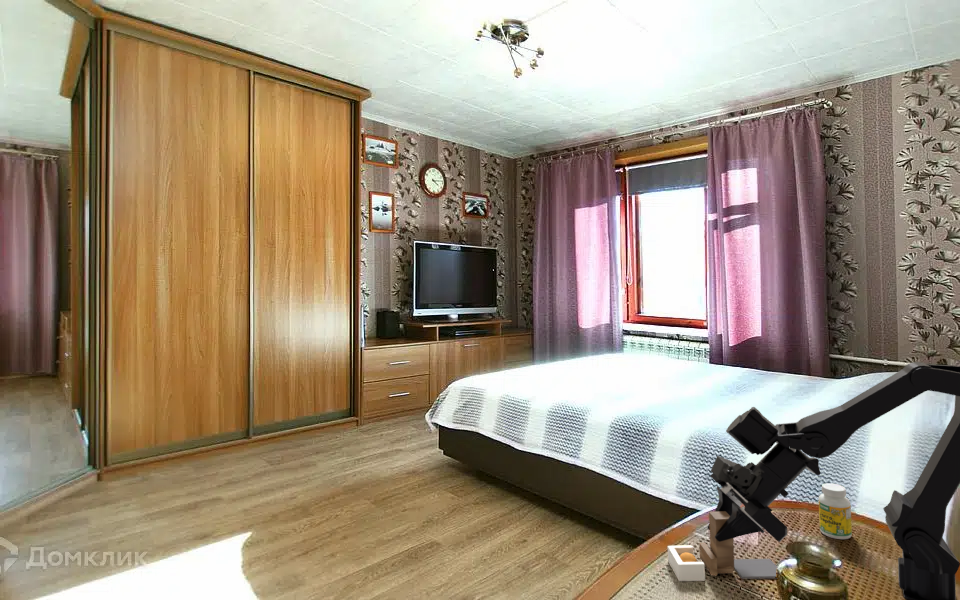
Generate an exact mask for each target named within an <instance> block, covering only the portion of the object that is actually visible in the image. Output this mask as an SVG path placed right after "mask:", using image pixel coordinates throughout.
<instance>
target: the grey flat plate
mask: <svg viewBox="0 0 960 600" xmlns="http://www.w3.org/2000/svg"><path fill="white" fill-rule="evenodd" d="M777 567H778V566H777V565H776V563H774V562H773V561H772V560H771V558H736V559H735V558H734V572H736V573H737V575H739V577H740V578H741V579H742V580H744V579H745V580H749V579H753V580H755V579H757V580H761V579H776V578H775V577H776V568H777Z"/></svg>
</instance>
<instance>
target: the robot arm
mask: <svg viewBox="0 0 960 600" xmlns="http://www.w3.org/2000/svg"><path fill="white" fill-rule="evenodd" d="M928 391H929V392H930V391H931V392H937V393H942V394H947V395H951V396H955V399H954V412H953V415H952V417H951V419H950V420H949V422H948V424H947V426H946V428H945V430H944V431H943V433H942V435H941V437H940V439H939V440H938V443H936V444H937V445H936V446H935V448H934V449H933V451H932V454H931V455H930V457H929V458H928V460H927V463H926V465H925V466H924V468H923V470H922V472H921V473H920V475H919V477H918V479H917V481H916V483H915V484H914V487H912V489H910V490H909V491H906V492H905V493H904V494H903V493H900V492H899V491H897V490H893V491H892V494H891V498H890V500H889V503H888V504H887V505H886V506H884V507H883V508H882V509H883V511H884V513H885V516H884V517H885V523H886V525H887V527H888V529H889V531H890V533H891V535H892V537H893V539H894V540H895V542H896V545H897V546H898V547H899V548H900V549H901V550H902V557H898V558H897V563H898V565H897V569H898V571H897V572H898V586H899V588H900V589H901V590H902V591H903V592H902V593H903V598H904V599H905V600H957V597H956V596H957V595H956V593H957V592H956V574H957V572H958V570H959V568H960V561H959V559H958V558H957V556H956V555H955V554H954V552H953V551H952V549H951V548H950V546H949V545H948V543H947V542H946V540H945V539H944V533H945V530H946V519H947V518H946V515H947V508H948V505H949V503H950V502H951V500H952V498H953V497H954V495H955V493H956V491H957V490H958V487H959V486H960V366H958V365H949V364H947V365H946V364H932V363H931V364H929V363H925V362H921V361H914V362H909V363H908V364H906V365H905V366H904V367H903V368H902V369H900V370H899V371H897V372H895V373H893V374H892V375H891V376H890V375H889V377H887V378H886V379H884V380H882V381H880V382H878V383H876V384H875V385H873V386H871V387H870V388H868V389H866V390H864V391H863V392H862V393H859V394H858V395H857V396H854V397H853V398H851V399H850V400H847V401H846V402H844V403H842V404H841V405H838V406H836V407H833V408H830V409H825V410H821V411H817V412H815V413H812V414H810V415H807V416H805V417H802V418H800V419H799V420H798V421H796V422H786V423H785V422H784V423H777V424H774V423H773V422H772V421H770V420H769V419H768V418H766V417H765V415H763V414H762V413H761V411H760V410H759V409H758V408H756V407H755V406H751V408H749V409H748V410H746V411H745V412H743V413H742V414H739V415H738V416H737V417H735V419H734V420H732V422H731V423H730V424H729V425H728V427H727V428H726V430H725V433H727V434H728V435H729V436H730V437H731V438H732V439H734V440H735V441H736V442H737V443H739V444H740V445H741V446H742V448H744V449H745V450H747V451H748V452H749V453H750V454H751V455H754V454H755V455H757V456H759V455H764V454H765V455H764V456H763V457H762V458H761V459H760V460H759V461H758V462H757V463H756V464H755V463H754V462H748V463H746V465H742V464H740V463H738V462H735V461H732V460H730V459H727V458H724V457H722V456H719V455H717V456H716V458H715V459H714V460H715V461H714V463H713V464H712V467H711V469H710V472H711V475H710V477H711V479H712V480H714V481H715V483H716V484H719V486H721V488H720V487H719V486H716V490H717V494H718V503H717V505H716V508H715V510H714V512H717V511H726V512H727V513H728V514H729V515H730V517H729V518H728V520H727V521H726V522H725V523H724V525H723V526H722V527H721V528H720V530H719V531H718V532H717V534H716V535H715V538H716V539H717V540H718V541H719V542H721V541H724V540H728V539H731V538H733V539H735V538H737V537H741V536H746V535H751V534H755V533H761V534H764V533H765V532H767V533H768V534H769V535H771V537H772V538H773V539H775V541H777V542H778V543H781V541H783V539H784V538H786V537H787V535H788V526H787V525H786V524H785V523H784V522H782V521H781V520H780V519H779V518H778V517H777V516H776V515H774V514H773V513H772V511H773V510H772V508H770V507H769V506H770V505H771V504H772V503H773V502H774V501H776V499H777V498H778V497H779V496H782V497H783V498H787V496H788V495H789V494H790V493H788V491H787V490H786V489H787V488H788V487H789V486H790V485H791V484H792V482H794V481H795V480H796V479H797V478H798V477H799V476H800V475H801V474H802V473H803V472H804V471H805V470H808V471H809V472H810V473H812V474H814V475H816V476H820V475H821V471H820V466H819V463H820V460H819V459H825V458H827V457H830V456H831V455H833V454H834V453H835V452H836V451H837V450H839V449H840V448H841V447H842V446H844V445H845V444H846V442H847V441H848V440H849V439H850V438H851V437H852V435H854V433H855V432H856V431H858V430H859V429H860V428H862V427H864V426H866V425H867V424H869V423H871V422H873V421H875V420H876V419H878V418H880V417H882V416H884V415H886V414H887V413H890V412H891V411H892V410H894V409H897V408H898V407H901V405H903V404H906V403H907V402H909V401H910V400H913V399H915V398H916V397H918V396H920V395H922V394H923V393H925V392H928ZM809 456H810V457H809ZM741 506H742V507H741ZM707 530H708V531H710V525H709V524H708V525H707Z"/></svg>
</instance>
